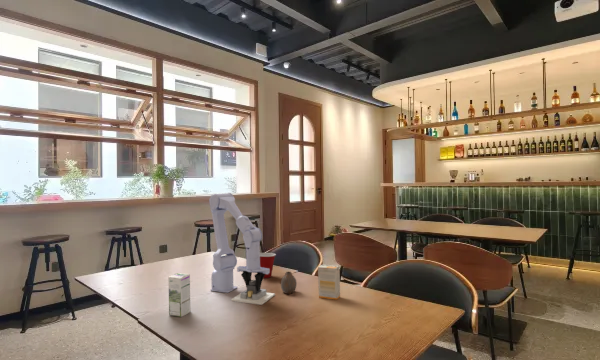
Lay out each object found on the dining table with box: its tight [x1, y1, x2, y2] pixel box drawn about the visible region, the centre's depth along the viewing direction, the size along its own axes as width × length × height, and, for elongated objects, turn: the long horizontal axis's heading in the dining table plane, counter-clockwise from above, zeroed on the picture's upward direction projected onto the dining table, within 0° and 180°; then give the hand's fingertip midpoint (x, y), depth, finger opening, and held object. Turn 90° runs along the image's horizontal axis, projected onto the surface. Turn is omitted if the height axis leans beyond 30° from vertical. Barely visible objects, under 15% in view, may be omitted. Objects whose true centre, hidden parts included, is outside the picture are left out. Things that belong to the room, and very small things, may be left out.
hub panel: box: [231, 288, 276, 306], centre depth 142 cm, size 14×12×3 cm
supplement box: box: [317, 264, 341, 301], centre depth 141 cm, size 8×5×13 cm, turn 65°
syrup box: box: [167, 272, 192, 318], centre depth 126 cm, size 6×6×14 cm
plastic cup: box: [260, 252, 277, 279], centre depth 174 cm, size 11×11×12 cm
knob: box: [246, 279, 260, 297], centre depth 141 cm, size 6×4×6 cm
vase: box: [280, 271, 297, 294], centre depth 149 cm, size 7×7×9 cm
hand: (253, 289), depth 142 cm, fingers closed on knob, 4 cm apart
